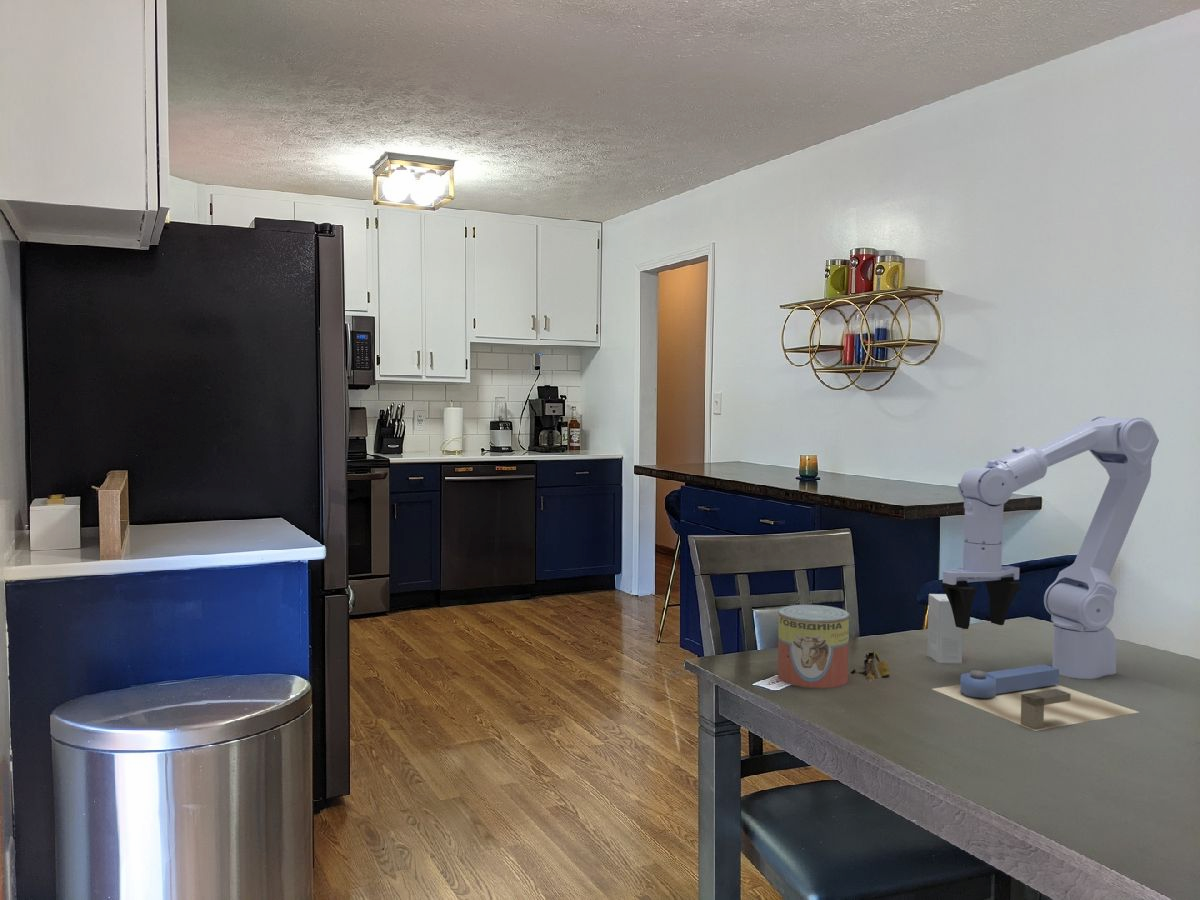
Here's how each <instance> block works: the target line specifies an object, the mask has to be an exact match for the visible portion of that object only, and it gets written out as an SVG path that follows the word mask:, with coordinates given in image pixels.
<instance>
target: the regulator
mask: <svg viewBox="0 0 1200 900" xmlns="http://www.w3.org/2000/svg"><path fill="white" fill-rule="evenodd" d="M864 658H865V659H864V661H863V663H864V664H863V665H864V667H865V668H864V669H865V670H863V671H859V672H857V671H856V669H855V668H854V669H853V670H852V671H850V674H856V673H857V674H860V675H865V676H866V677H865V678H866V680H867V681H868V682H869V683H871V682H872V681H875V679H881V678H883V677H886V676H888V675H889V674H890V672H891V668H890V666H889V663H888V662H887V661H885V660H884V661H882V660H881V659H880V657H879V655H878V653H877V652H876V651H874V650H873V652H868V653H866V654H865V656H864Z"/></svg>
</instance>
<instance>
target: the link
mask: <svg viewBox="0 0 1200 900" xmlns="http://www.w3.org/2000/svg"><path fill="white" fill-rule="evenodd" d="M959 681H960V684H959V685H960V692H961V693H962V694H964V695H967V696H971V697H977V698H991V697H994V696H995V695H996V694H999V693H1006V692H1012V691H1019V690H1025V689H1032V688H1038V687H1045V686H1051V685H1060V675H1059V669H1057V668H1054V667H1052V666H1050V665H1048V664H1037V665H1036V664H1035V665H1029V666H1022V667H1016V668H1008V669H1002V670H1000V669H999V670H995V671H994V670H993V671H988V672H987V671H984V670H979V669H972V670H970V672H964V673H962V674H960V680H959Z"/></svg>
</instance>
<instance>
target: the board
mask: <svg viewBox="0 0 1200 900" xmlns="http://www.w3.org/2000/svg"><path fill="white" fill-rule="evenodd" d="M1052 689H1058V690H1061V691H1064V692H1067V693H1070V694H1071V695H1070V701H1067V702H1061V703H1054V704H1048V705H1044V726H1043V728H1042V729H1036V730H1034V729H1031V728H1029V727H1026V726H1024V725H1021V694H1027V693H1033V692H1039V691H1046V690H1052ZM931 690H933V691H935V692H937V693H939V694H942V695H945V696H947V697H950V698H952V699H955V700H957V701H960V702H962V703H964V704H968V705H970V706H972V707H975V708H977V709H979V710H981V711H985V712H986V713H989V714H992V715H994V716H997V717H999V718H1002V719H1004V720H1007V721H1010V722H1012V723H1015V724H1016V725H1020V726H1022V727H1024V728H1027V729H1029V730H1032V731H1034V732H1037V731H1044V730H1049V729H1054V728H1061V727H1066V726H1071V725H1077V724H1082V723H1089V722H1092V721H1093V722H1094V721H1100V720H1106V719H1110V718H1111V719H1112V718H1117V717H1122V716H1123V717H1124V716H1128V715H1132V714H1133V715H1134V714H1139V713H1140V711H1137V710H1135V709H1132V708H1128V707H1125V706H1122V705H1119V704H1116V703H1114V702H1110V701H1109V700H1108V701H1107V700H1104V699H1103V698H1099V697H1095V696H1093V695H1090V694H1088V693H1083V692H1081V691H1078V690H1075V689H1073V688H1072V689H1071V688H1069V687H1066V686H1063V685H1060V684H1058V685H1051V686H1045V687H1038V688H1032V689H1025V690H1019V691H1012V692H1006V693H999V694H996V695H995V696H994V697H991V698H977V697H971V696H967V695H964V694H962V693H961V692H960V684H955V685H948V686H942V687H935V688H931Z"/></svg>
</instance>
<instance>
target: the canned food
mask: <svg viewBox="0 0 1200 900" xmlns="http://www.w3.org/2000/svg"><path fill="white" fill-rule="evenodd" d="M777 614H778V622H777V623H778V624H777V625H778V631H777V632H778V636H777V637H778V638H777V640H778V641H777V643H778V645H777V646H778V647H777V649H778V650H777V653H778V654H777V655H778V656H777V677H778V679H779V680H780V681H782V682H784V683H786V684H789V685H791V686H795V687H800V688H809V689H832V688H838V687H842V686H844V685H846V684H847V683H848V682H849V653H850V652H849V641H850V640H849V638H850V636H849V635H850V633H849V632H850V631H849V630H850V612H848V611H847V610H845V609H843V608H839V607H836V606H829V605H823V604H822V605H821V604H792V605H786V606H782V607H780V608H779V609H777Z"/></svg>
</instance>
